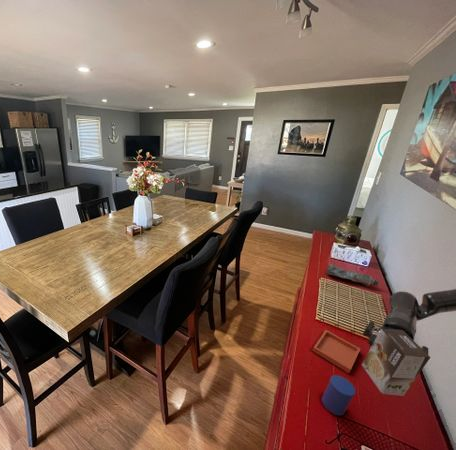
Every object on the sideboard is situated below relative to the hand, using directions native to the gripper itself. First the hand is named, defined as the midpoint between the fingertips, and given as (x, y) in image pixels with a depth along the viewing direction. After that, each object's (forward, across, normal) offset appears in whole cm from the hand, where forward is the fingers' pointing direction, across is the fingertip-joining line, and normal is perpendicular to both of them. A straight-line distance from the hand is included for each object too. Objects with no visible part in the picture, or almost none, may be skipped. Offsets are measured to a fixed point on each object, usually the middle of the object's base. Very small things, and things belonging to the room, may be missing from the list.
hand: (390, 354), depth 70 cm
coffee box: (+1, -1, -9) cm, 9 cm away
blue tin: (+7, +6, -24) cm, 26 cm away
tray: (-18, +12, -24) cm, 32 cm away
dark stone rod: (-85, +23, -24) cm, 91 cm away
